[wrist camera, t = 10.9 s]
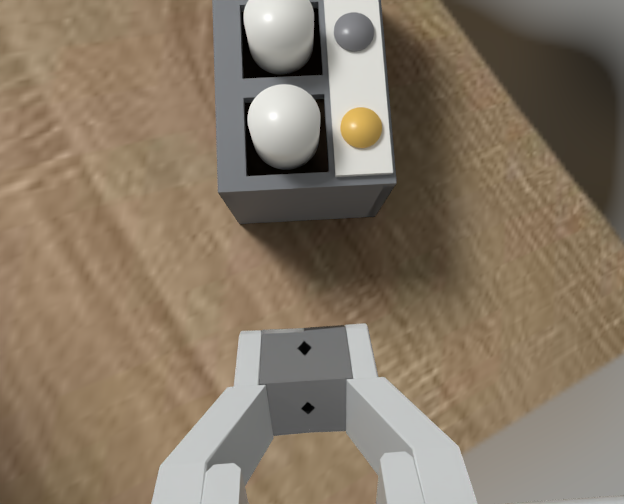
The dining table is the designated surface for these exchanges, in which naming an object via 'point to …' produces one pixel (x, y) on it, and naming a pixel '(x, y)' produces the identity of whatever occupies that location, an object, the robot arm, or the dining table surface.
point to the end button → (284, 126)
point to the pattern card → (357, 88)
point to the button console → (285, 187)
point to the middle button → (280, 34)
